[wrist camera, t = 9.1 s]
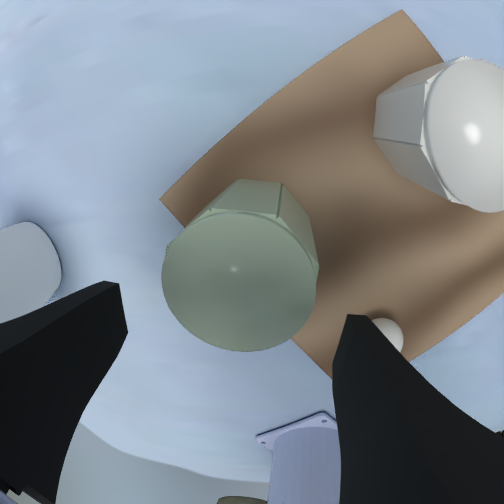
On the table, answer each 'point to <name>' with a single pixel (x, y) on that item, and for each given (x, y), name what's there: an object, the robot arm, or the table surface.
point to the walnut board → (359, 199)
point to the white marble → (390, 331)
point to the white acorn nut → (448, 131)
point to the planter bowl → (240, 500)
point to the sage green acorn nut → (244, 268)
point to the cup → (26, 270)
